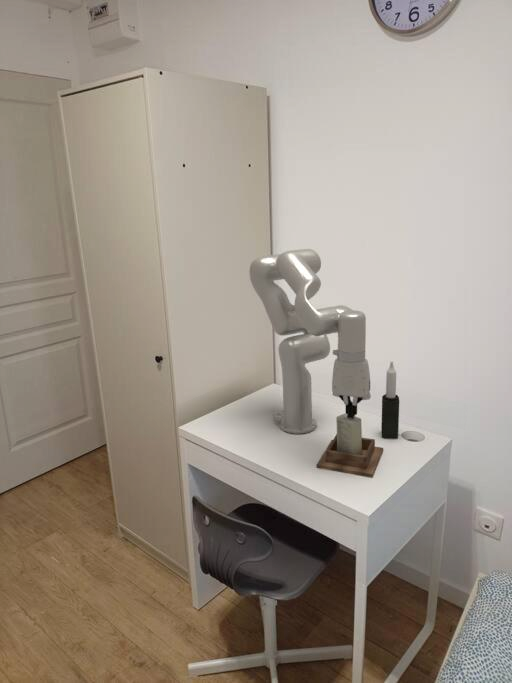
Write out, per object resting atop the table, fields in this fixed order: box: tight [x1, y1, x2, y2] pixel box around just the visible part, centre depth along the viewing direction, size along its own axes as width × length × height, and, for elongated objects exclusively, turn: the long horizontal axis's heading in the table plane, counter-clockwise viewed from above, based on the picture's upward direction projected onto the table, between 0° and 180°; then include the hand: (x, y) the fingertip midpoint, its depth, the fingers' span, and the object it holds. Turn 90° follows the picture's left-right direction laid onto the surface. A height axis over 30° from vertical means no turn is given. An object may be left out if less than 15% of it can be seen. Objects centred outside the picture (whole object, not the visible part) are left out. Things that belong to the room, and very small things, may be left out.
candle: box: [380, 360, 400, 440], centre depth 158 cm, size 5×5×25 cm
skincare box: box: [335, 412, 363, 455], centre depth 146 cm, size 6×4×12 cm
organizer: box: [316, 433, 384, 478], centre depth 147 cm, size 16×16×4 cm
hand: (351, 416), depth 144 cm, fingers closed
